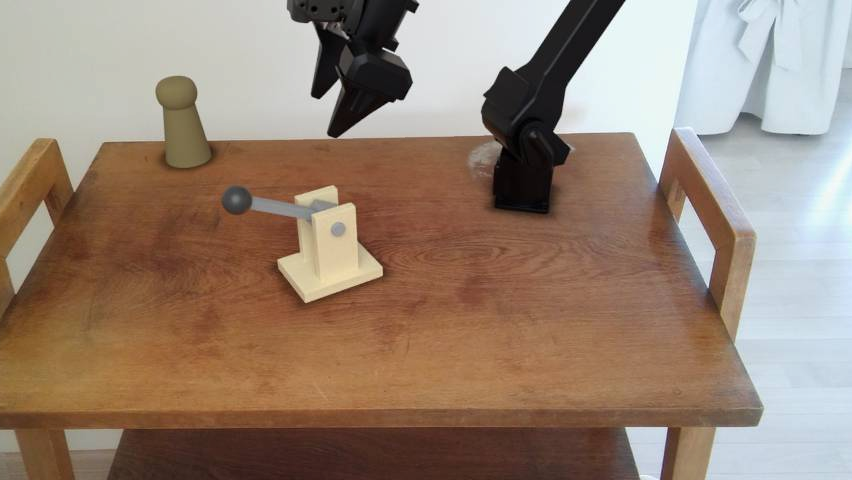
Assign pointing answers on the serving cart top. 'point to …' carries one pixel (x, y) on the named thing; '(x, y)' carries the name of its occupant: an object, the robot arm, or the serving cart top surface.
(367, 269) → the switch bracket
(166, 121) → the olive pawn
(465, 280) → the serving cart top surface
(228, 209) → the switch lever
